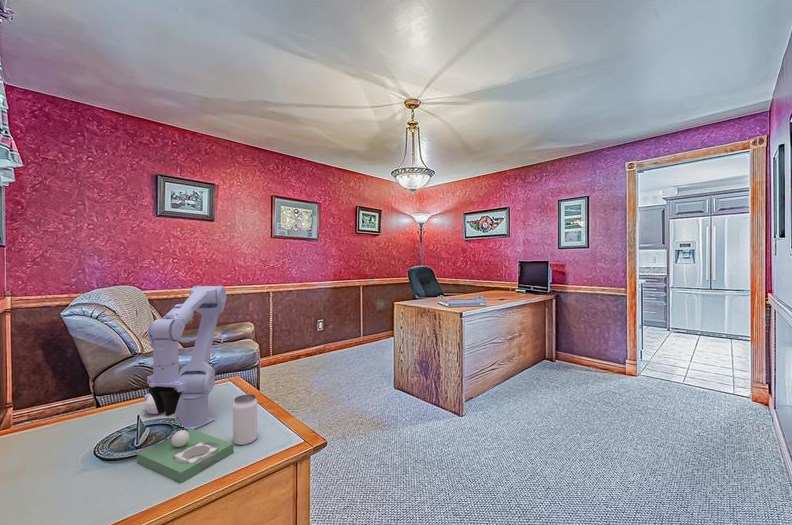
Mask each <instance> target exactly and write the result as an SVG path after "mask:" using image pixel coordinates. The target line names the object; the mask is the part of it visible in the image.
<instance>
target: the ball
mask: <svg viewBox="0 0 792 525" xmlns="http://www.w3.org/2000/svg"><path fill="white" fill-rule="evenodd" d="M171 438H172V440H171V441H172V444H173V445H174V446H175V447H182V446H184V445H185V444H186V443H187V442H188V440H189V433H188V432H187V430H186V429H181V430H178V431H176V432H175V433H174V434H173V435H172V437H171Z"/></svg>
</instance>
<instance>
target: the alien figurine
mask: <svg viewBox="0 0 792 525" xmlns="http://www.w3.org/2000/svg"><path fill="white" fill-rule="evenodd" d="M143 398H144V400H145V402H144V408H145V410H146V411H147V412H148V413H149V414H154V415H158V414H159V413H158V411H157V408H156V405H155V402H154V399H153V397H152V395H151V394H150V393H146V394H144V397H143Z"/></svg>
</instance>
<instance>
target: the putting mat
mask: <svg viewBox="0 0 792 525" xmlns="http://www.w3.org/2000/svg"><path fill="white" fill-rule="evenodd" d="M186 431H187V432H188V433H189V440H188V442H187V443H186V444H185V445H184V446H182V447H175V446H174V445H173V444H172V441H171V440H172V437H170V438H168V439H166V440H164V441H161V442H159V443H157V444H154V445H153V446H150V447H147V448H146V449H144V450H141V451H139V452H137V453H136V458H137V459H136V461H137V462H136V464H139V465H141V466H144V467H146V468H148V469H150V470H152V471H154V472H157V473H159V474H161V475H163V476H165V477H167V478H169V479H171V480H174V481H176V482H178V483H180V484H182V483H184V482H186V481H187V480H189V479H191V478H192V477H194V476H196V475H198V474H199V473H201V472H203V471H204V470H206V469H208V468H209V467H212V466H213V465H215V464H216V463H218V462H220V461H221V460H224V459H225V458H227V457H228V456H230V455H231V454H234V450H235V449H234V445H235V443H234V442H230V441H228V440H224V439H221V438H218V437H215V436H212V435H209V434H207V433H204V432H201V431H198V430H196V429H194V430H192V429H190V430H187V429H186ZM196 456H200V457H196ZM193 457H195V458H193Z"/></svg>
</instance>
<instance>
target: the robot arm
mask: <svg viewBox="0 0 792 525" xmlns="http://www.w3.org/2000/svg"><path fill="white" fill-rule="evenodd" d="M188 296H189V297H188V298H186V300H185V301H184V302H183V303H179V304H175V305H174V307H172V308H171V310H169V311H168V312H167V313H166V314H165V315H164V316H163V317H162V318H157V319H155V320H154V321H152V322H150V324H149V326H148V328H147V329H148V330H147V332H146V333H147V337H148V339H149V342H150V347H151V348H152V352H153V353H152V356H153V357H152V362H153V364H152V366H153V370H152V371H153V374H151V375H148V376H146V383H147V384H148V387H149V388H148V389H147V391H148V394H151V395H152V397H153V399H154V402H155V405H156V408H157V411H158V414H162V413H164V414H165V417H170V416H172V415H174V414H175V416H174V418H175V419H174V420H175V421H176V422H179V423H181V424H182V425H183V427H184V428H183V430H186V431H187V430H190V429H192V430H197V429H199V428H200V427H203V426H206V425H207V424H209V423H212V422H214V421H216V420H215V418H214V417H212V416H209V395H210V393H211V392H212V391H213V390H214V387H215V382H216V381H215V377H216V371H215V369H214V367H213V366H211V365H210V364H209V360H210V356H211V350H212V346H213V342H214V339H215V338H214V337H215V333H216V330H217V329H216V328H217V325H218V320H219V315H220V314H221V313H223V312H224V309H225V306H226V301H227V296H228V295H227V290H226V288H225V287H224V285H194V286H193V287H192V288H190V290H189V295H188ZM194 311H195V312H196V313H198V314H199V315H200V314H201V317H200V318H201V319H200V323H199V326H198V330H197V335H196V338H195V342H194V347H193V349H192V350H193V351H192V354H191V358H190V362H188V363H187V364H186V365H184V366H182V368H181V369H180V370H179V368H180V367H179V365H180V363H179V357H180V356H179V352H180V351H179V340H180V339H181V337H182V335H183V334H184V333H183V332H184V330H185V328H186V326H187V324H188V323H190V321H192V319H193V317H194ZM175 421H174V422H175Z"/></svg>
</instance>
